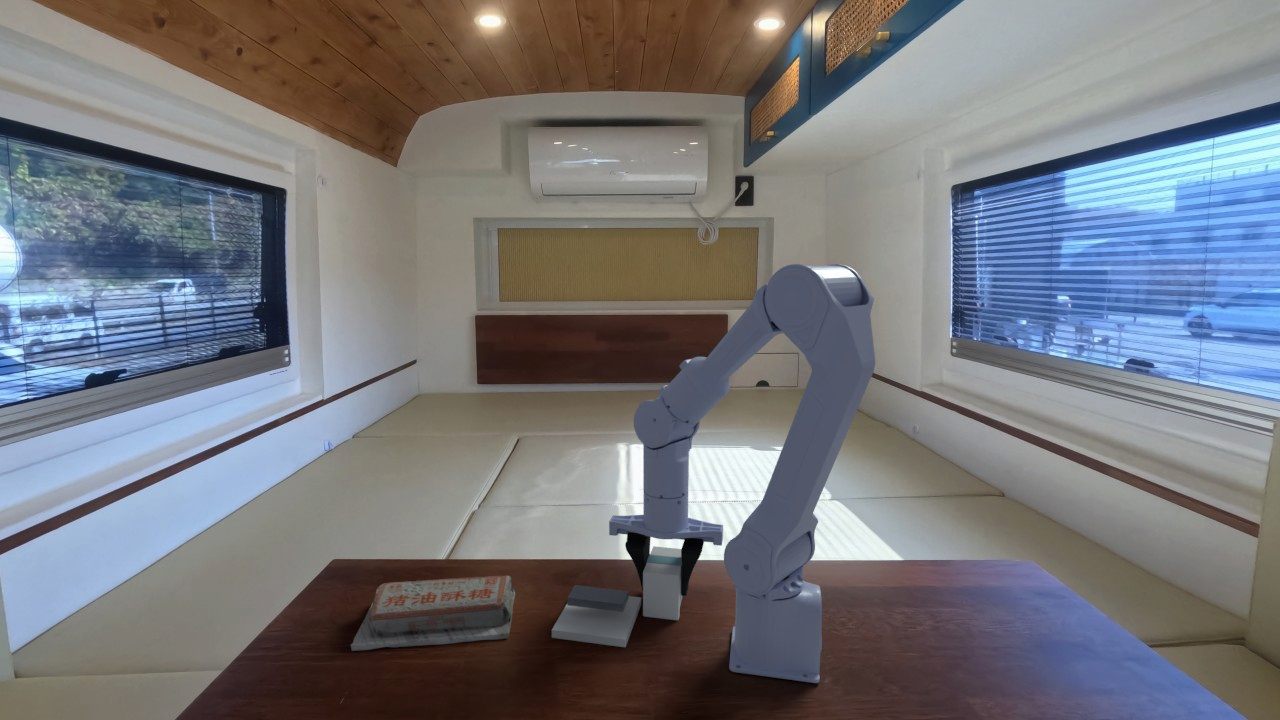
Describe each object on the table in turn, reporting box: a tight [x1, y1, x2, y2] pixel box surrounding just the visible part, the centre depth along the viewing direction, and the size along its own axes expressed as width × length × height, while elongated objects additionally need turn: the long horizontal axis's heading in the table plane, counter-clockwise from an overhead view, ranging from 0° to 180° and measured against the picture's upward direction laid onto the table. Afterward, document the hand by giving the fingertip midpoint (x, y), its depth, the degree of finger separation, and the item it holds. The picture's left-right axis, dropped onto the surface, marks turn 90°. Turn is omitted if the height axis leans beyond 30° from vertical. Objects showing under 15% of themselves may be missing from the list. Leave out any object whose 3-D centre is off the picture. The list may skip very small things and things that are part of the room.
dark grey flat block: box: [566, 584, 630, 612], centre depth 74 cm, size 7×3×1 cm, turn 78°
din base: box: [551, 595, 642, 648], centre depth 74 cm, size 9×9×1 cm
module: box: [642, 545, 683, 621], centre depth 77 cm, size 5×7×6 cm, turn 168°
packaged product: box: [350, 575, 516, 652], centre depth 74 cm, size 18×5×10 cm
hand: (665, 589), depth 78 cm, fingers closed on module, 4 cm apart
